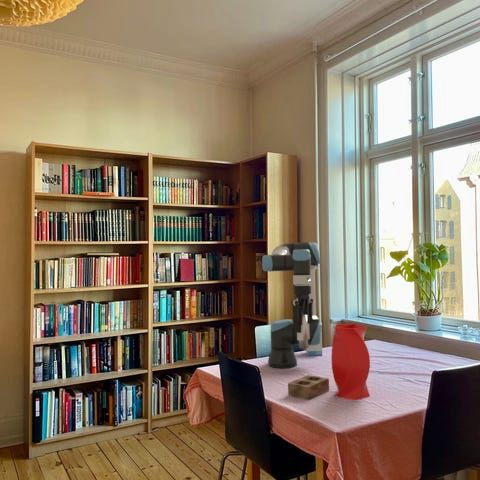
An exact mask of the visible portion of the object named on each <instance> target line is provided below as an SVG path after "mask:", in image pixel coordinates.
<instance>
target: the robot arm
mask: <svg viewBox="0 0 480 480" xmlns="http://www.w3.org/2000/svg"><path fill="white" fill-rule="evenodd" d="M261 261H262V263H261V266H262V271H264V272H293V274H292V282H293V283H292V284H293V287H292V288H293V294H294V295H295V298H294V300H291V306H292V319H289V318H288V319H287V318H285V319H279V320H275V321H273V322H272V323H271V324H270V352H269V356H268V360H267V365H268V367H271V368H276V369H289V368H294V367H297V365H298V360H297V358H296V355H295V351H294V346H299V340H301V341H303V340H304V338H303V325H302V317H303V315H307V322H308V345H310V346H311V345H318V344H319V343H320V337H321V335H322V326H323V323H322V322H321V321H320V318H319V317H318V316H317V302H316V299H317V297H316V270H317V269H318V268H319V267H318V265H320V264H321V258H320V251H319V247H318V243H316V242H312V241H311V242H309V241H308V242H287V243H283V244H280V245H279V246H278V245H277V246H276V247H275V248H274V249H273V250H272V252H271V254H267V255H266V254H264V255H263V256H262V260H261Z"/></svg>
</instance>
